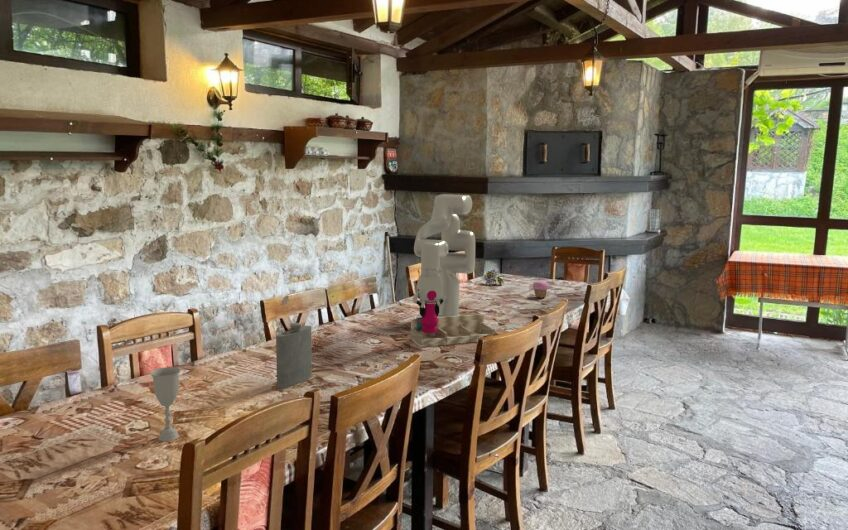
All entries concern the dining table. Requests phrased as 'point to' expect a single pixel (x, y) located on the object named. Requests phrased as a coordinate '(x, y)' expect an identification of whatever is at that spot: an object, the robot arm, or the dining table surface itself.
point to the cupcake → (540, 288)
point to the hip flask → (293, 356)
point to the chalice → (166, 396)
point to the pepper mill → (430, 314)
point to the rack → (451, 330)
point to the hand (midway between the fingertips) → (429, 315)
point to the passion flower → (492, 277)
